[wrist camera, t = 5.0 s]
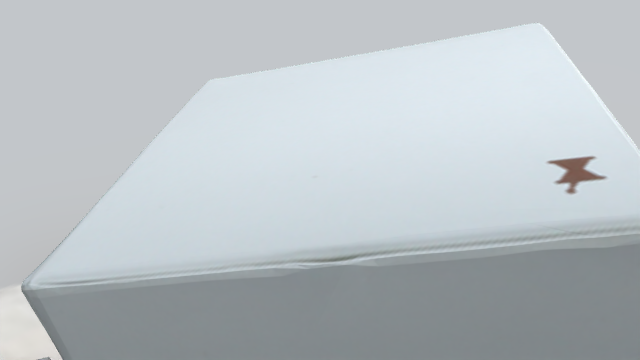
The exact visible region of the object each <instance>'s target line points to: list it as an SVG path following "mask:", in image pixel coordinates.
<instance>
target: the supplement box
mask: <svg viewBox="0 0 640 360" xmlns="http://www.w3.org/2000/svg"><path fill="white" fill-rule="evenodd" d="M21 288H22V292H23V294H24V295H25V297H26V299H27V301H28V302H29V304H30V306H31V307H32V309H33V310H34V312H35V314H36V315H37V317H38V318H39V320H40V322H41V323H42V325H43V326H44V328H45V330H46V331H47V333H48V335H49V336H50V338H51V340H52V342H53V343H54V345H55V347H56V348H57V350H58V352H59V354H60V355H61V357H62V359H63V360H640V150H639V149H638V147H637V146H636V145H635V143H634V142H633V141H632V140H631V138H630V137H629V135H628V134H627V133H626V132H625V130H624V129H623V128H622V126H621V125H620V124H619V122H618V121H617V120H616V119H615V117H614V116H613V115H612V113H611V112H610V111H609V110H608V108H607V107H606V106H605V104H604V103H603V102H602V100H601V99H600V98H599V96H598V95H597V94H596V92H595V91H594V89H593V88H592V87H591V86H590V84H589V83H588V82H587V81H586V80H585V78H584V77H583V76H582V74H581V73H580V72H579V70H578V69H577V67H576V66H575V65H574V64H573V62H572V61H571V60H570V58H569V57H568V56H567V55H566V53H565V52H564V51H563V50H562V48H561V47H560V46H559V45H558V43H557V41H556V40H555V39H554V38H553V36H552V35H551V34H550V32H549V31H548V30H547V29H546V28H545V27H544V26H543V25H541V24H540V23H533V24H525V25H520V26H515V27H510V28H505V29H500V30H494V31H489V32H483V33H478V34H473V35H467V36H461V37H456V38H450V39H445V40H439V41H434V42H428V43H423V44H417V45H412V46H406V47H400V48H394V49H389V50H383V51H377V52H371V53H366V54H360V55H354V56H348V57H342V58H336V59H331V60H325V61H319V62H313V63H307V64H302V65H296V66H290V67H285V68H279V69H273V70H267V71H261V72H256V73H249V74H244V75H237V76H232V77H224V78H217V79H211V80H209V81H208V82H207V83H206V84H205V85H204V86H203V87H202V88H201V89H200V90H199V91H198V92H197V93H196V94H195V95H194V96H193V97H192V98H191V99H190V100H189V101H188V102H187V103H186V104H185V105H184V107H183V108H182V109H181V110H180V111H179V112H178V113H177V115H176V116H175V117H174V118H173V119H172V120H171V121H170V122H169V123H168V124H167V125H166V126H165V127H164V128H163V130H161V132H160V133H159V134H158V135H157V136H156V137H155V138H154V139H153V140H152V141H151V142H150V144H148V146H147V147H146V148H145V149H144V150H143V151H142V152H141V154H140V155H139V156H138V157H137V158H136V159H135V160H134V162H133V163H132V164H131V165H130V166H129V167H128V168H127V170H126V171H125V172H124V173H123V174H122V175H121V176H120V177H119V179H118V180H117V181H116V182H115V183H114V184H113V185H112V186H111V187H110V189H109V190H108V191H107V192H106V193H105V194H104V195H103V196H102V197H101V199H100V200H99V201H98V202H97V203H96V204H95V205H94V207H93V208H92V209H91V210H90V211H89V212H88V213H87V214H86V216H85V217H84V218H83V219H82V220H81V221H80V222H79V224H78V225H77V226H76V227H75V228H74V229H73V230H72V232H71V233H70V234H69V235H68V236H67V237H66V238H65V239H64V240H63V241H62V242H61V243H60V244H59V246H58V247H56V249H55V250H54V251H53V252H52V253H51V254H50V255H49V256H48V257H47V258H46V259H45V260H44V261H43V262H42V263H41V264H40V265H39V266H38V267H37V268H36V269H35V270H34V271H33V272H32V273H31V274H30V275H29V276H28V277H27V278H26V279H25V280H24V281H23V283H22V286H21Z"/></svg>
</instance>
